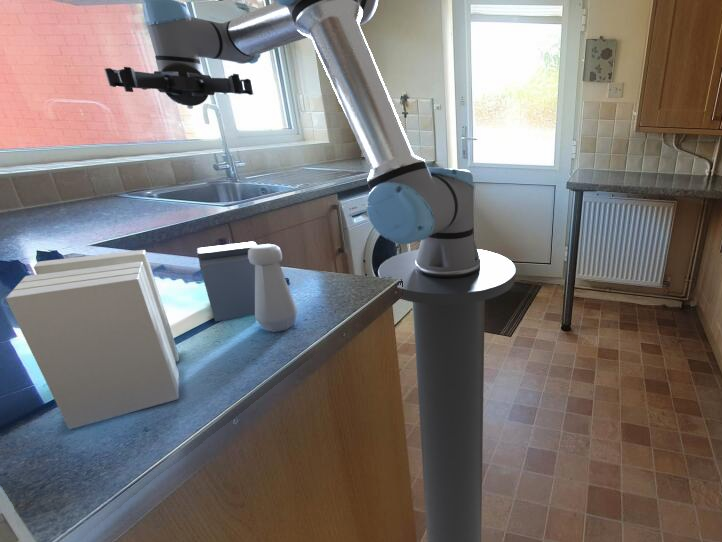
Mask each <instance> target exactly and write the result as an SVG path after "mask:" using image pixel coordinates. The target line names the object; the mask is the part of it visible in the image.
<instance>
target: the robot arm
mask: <svg viewBox="0 0 722 542" xmlns="http://www.w3.org/2000/svg"><path fill="white" fill-rule="evenodd" d="M273 1H274V2H272V3H269V4H267V5H264V6H262V7H260V8H257V9H255V10H252V11H249V12H248V13H245V14H243V15H240V16H238V17H236V18H234V19H231V20H229V21H225V22H217V21H211V20H207V19H204V18H199V17H194V16H191V12H190V11H189V8H188V6H187V5H186V4H185V3H183V2H180V1H178V0H142V12H143V19H144V24H145V25H146V28H147V31H148V35H149V38H150V41H151V43H152V44H151V45H152V48H153V52H154V58H155V63H156V66H157V70H155V71H154V72H153V73H152V72H144V71H137V70H136V71H135V69H134V68H132V67H130V66H123V68H121V69H114V68H111V67H107V68H104V72H105V76H106V79H107V82H108V83H107V84H108V86H110V87H112V88H117V87H121V88H124V92H125V93H134V89H141V90H145V91H146V90H157V91H158V92H159V93H164V94H165V95H166V96H167V98H169V99H170V100H171V101H173V102H175V103H177V104H179V105H182V106H186V108H187V109H190V110H192V109H194V106H198V105H201V104H203V103H204V102H206V101H207V100H208V97H209V96H215V93H218V94H223V95H230V94H231V95H249V96H253V95H254V94H255V93H254V86H253V83H252V82H253V81H252V79H249V78H244V79H241V76H240V74H239V73H232V74H231V75H229V76H227V77H211V75H209V74H203V68H202V64H201V59H200V58H203V59H204V58H205V59H212V60H216V61H217V60H218V61H224V62H229V63H236V64H239V65H240V64H241V65H245V64H247V65H249V64H250V65H252V64H255V63H257V62H258V61H259V59H260V58H261V56H262V54H264V53H267V52H270V51H272V50H276V49H278V48H282V47H284V46H287V45H291V44H293V43H296V42H298V41H302V40H305V39H311V41H312V43H313V45H314V48H315V50H316V53H317V54H318V57H319V59H320V61H321V63H322V65H323V68H324V70H325V72H326V75H327V77H328V78H329V80H330V83H331V86H332V88H333V91H334V92H335V95H336V97H337V99H338V102H339V104H340V105H341V107H342V110H343V113H344V114H345V117H346V119H347V122H348V124H349V125H350V128H351V131H352V132H353V135H354V136H355V139H356V142H357V144H358V146H359V148H360V150H361V153H362V154H363V157H364V159H365V161H366V164H367V166H368V168H369V175H368V177H367V180H366V184H367V186H368V189H369V190H370V192H369V194H368V196H367V198H366V199H367V200H366V201H367V205H366V213H367V216H368V219H369V221H370V223H371V225H372V226H373V228H374V229H375V231H376V232H377V233H378V234H379V235H380V236H382V237H383V238H384V239H386V240H388V241H391V242H392V243H395V244H398V245H410V244H413V243H416V242H420V243H419V246H418V249H417V250H418V253H417V257H416V261H415V263H416V270H417V271H418V272H419V273H421V274H423V275H425V276H429V277H434V278H445V279H449V278H461V277H466V276H470V275H472V274H475V273H476V272H478V271H479V270H480V268H481V260H480V256H479V253H478V250H477V249H478V248H477V243H476V242H475V241H476V240H475V238H474V190H475V185H474V177H473V173H472V171H470V170H468V169H459V168H449V167H437V166H436V167H435V166H428V165H427V162H426V159H423V158H421V157H419V156H417V155H415V154H414V152H413V150H412V147H411V145H410V143H409V140H408V138H407V134H406V133H405V131H404V127H403V126H402V124H401V123H402V122H401V121H400V119H399V116H398V114H397V112H396V109H395V107H394V104H393V102H392V99H391V97H390V95H389V92H388V90H387V87H386V86H385V83H384V81H383V78H382V76H381V73H380V71H379V69H378V66H377V64H376V62H375V59H374V56H373V54H372V52H371V49H370V48H369V47H370V46H369V45H368V43H367V42H368V41H367V40H366V38H365V36H364V33H363V30H362V29H361V26H363V25H365V24H366V23H367V22H369V21H370V20H371V19H372V17H373V16H374V14H375V13H376V10H377V8H378V3H379V0H273Z"/></svg>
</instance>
